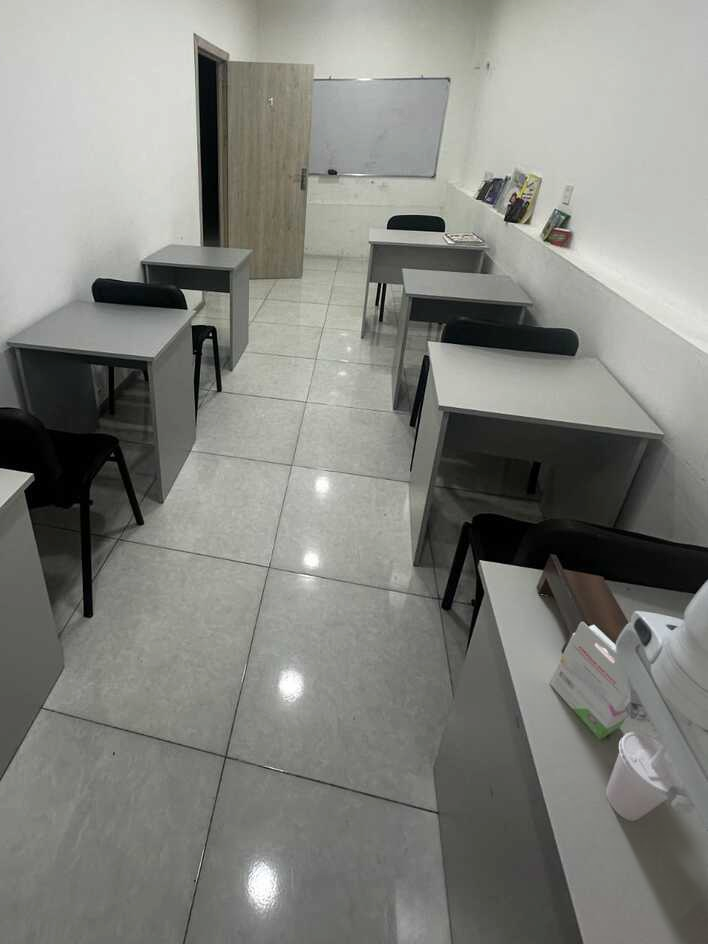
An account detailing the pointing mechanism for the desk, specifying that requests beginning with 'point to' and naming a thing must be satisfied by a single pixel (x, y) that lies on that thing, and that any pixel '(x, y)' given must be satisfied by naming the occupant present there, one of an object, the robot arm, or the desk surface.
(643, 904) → the desk surface
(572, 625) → the shelf
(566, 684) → the ink box
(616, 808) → the smoothie
